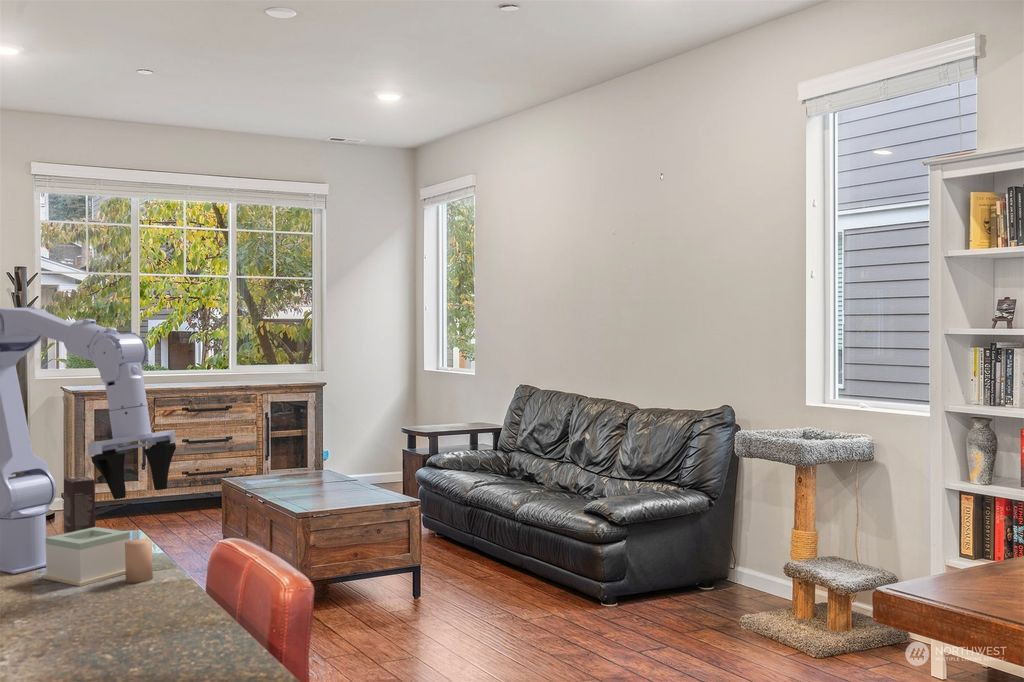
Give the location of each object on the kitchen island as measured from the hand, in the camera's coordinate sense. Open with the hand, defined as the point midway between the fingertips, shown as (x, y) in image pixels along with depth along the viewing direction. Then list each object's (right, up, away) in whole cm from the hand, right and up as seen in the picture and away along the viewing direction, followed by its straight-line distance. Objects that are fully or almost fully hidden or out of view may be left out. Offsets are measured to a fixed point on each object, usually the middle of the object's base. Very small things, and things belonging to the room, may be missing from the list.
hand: (140, 494), depth 148 cm
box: (-23, -14, +29) cm, 39 cm away
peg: (-1, -14, +2) cm, 14 cm away
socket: (-10, -14, +5) cm, 18 cm away
